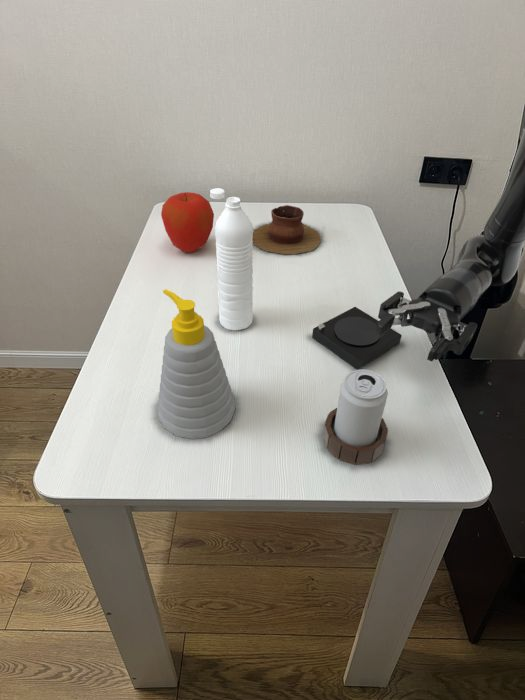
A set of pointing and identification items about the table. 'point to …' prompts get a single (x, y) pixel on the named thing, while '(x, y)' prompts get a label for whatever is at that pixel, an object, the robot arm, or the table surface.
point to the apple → (187, 220)
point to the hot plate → (355, 337)
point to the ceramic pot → (286, 233)
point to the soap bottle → (193, 378)
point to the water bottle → (234, 263)
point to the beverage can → (360, 408)
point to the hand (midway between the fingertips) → (404, 343)
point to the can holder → (350, 452)
